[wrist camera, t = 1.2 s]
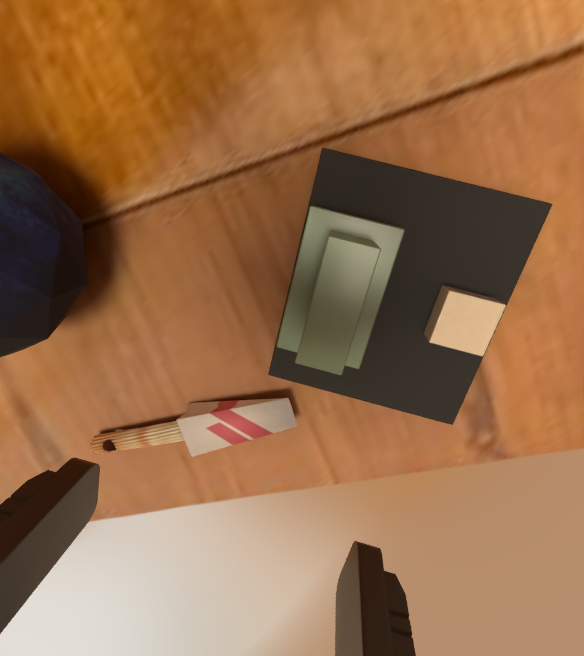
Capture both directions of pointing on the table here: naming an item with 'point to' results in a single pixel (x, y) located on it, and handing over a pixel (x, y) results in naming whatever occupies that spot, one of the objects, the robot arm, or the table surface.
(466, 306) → the beige square block
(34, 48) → the table surface
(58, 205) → the decorative orb
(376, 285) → the green stepped block
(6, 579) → the robot arm
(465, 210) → the mat
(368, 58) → the table surface
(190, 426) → the paintbrush
